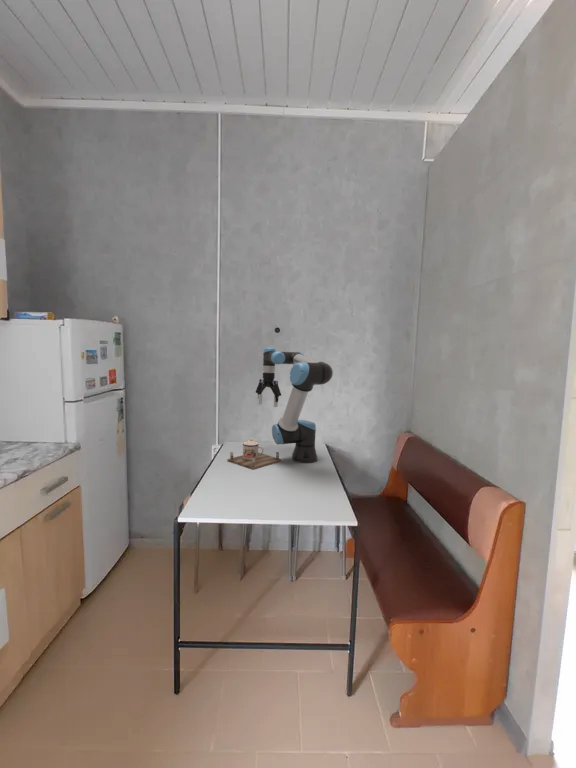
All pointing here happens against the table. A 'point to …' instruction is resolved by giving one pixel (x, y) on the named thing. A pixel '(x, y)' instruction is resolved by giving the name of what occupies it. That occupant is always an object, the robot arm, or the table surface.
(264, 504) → the table surface
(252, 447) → the teacup with lid
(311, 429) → the robot arm
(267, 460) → the stub plate
